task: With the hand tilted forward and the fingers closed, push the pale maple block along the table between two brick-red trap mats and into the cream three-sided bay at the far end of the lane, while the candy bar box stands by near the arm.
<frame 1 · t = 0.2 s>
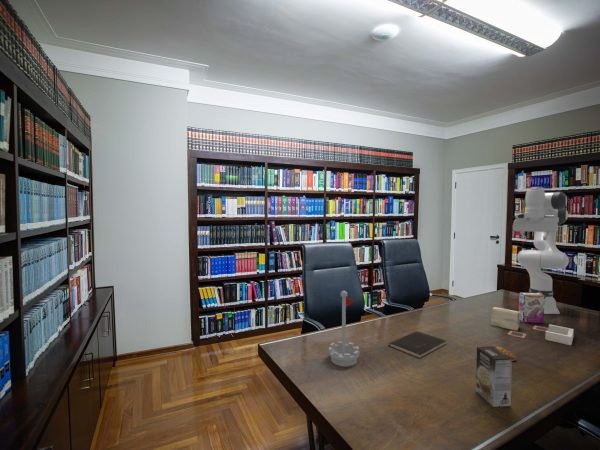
hand: (534, 239, 170), 48 cm above the table, tool pointing down, fingers open, 8 cm apart
flag stand: (343, 360, 129), on the table
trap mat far: (541, 329, 162), on the table
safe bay: (570, 340, 148), on the table
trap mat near: (516, 334, 155), on the table
pastry: (501, 356, 132), on the table
candy bar box: (531, 322, 174), on the table
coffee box: (492, 399, 101), on the table
hardcover book: (417, 346, 143), on the table
maple block: (505, 326, 167), on the table
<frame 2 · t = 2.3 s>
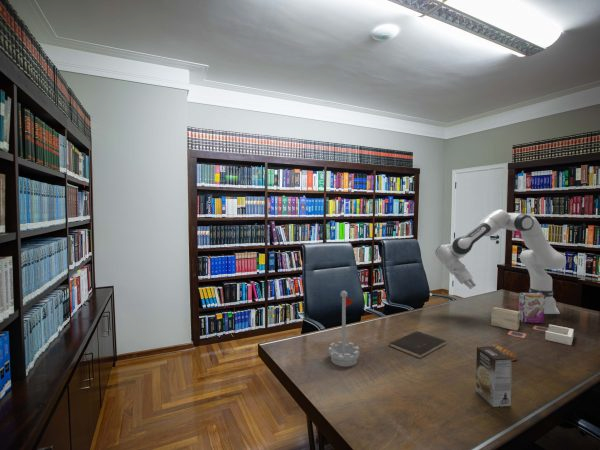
hand: (473, 287, 177), 19 cm above the table, tool tilted 45°, fingers open, 8 cm apart
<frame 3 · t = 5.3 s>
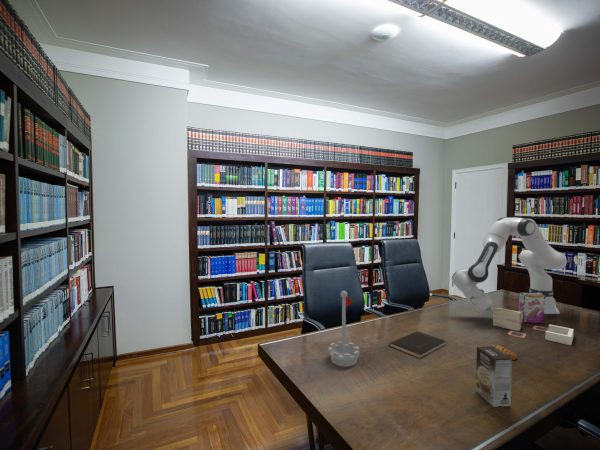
hand: (493, 315, 171), 5 cm above the table, tool tilted 45°, fingers closed
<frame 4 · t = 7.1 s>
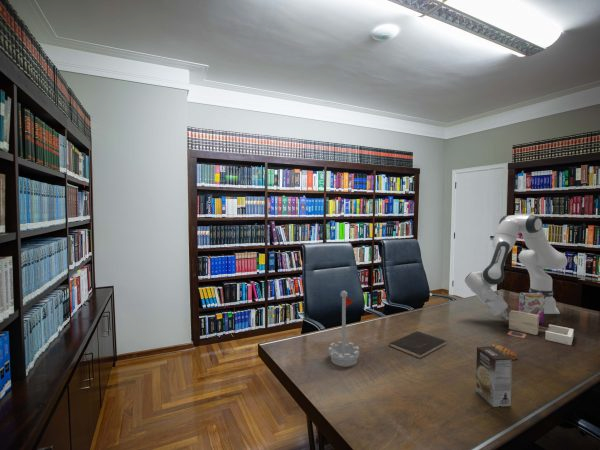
hand: (508, 318, 165), 5 cm above the table, tool tilted 45°, fingers closed, pressing on maple block
maple block: (523, 330, 161), on the table, touching gripper
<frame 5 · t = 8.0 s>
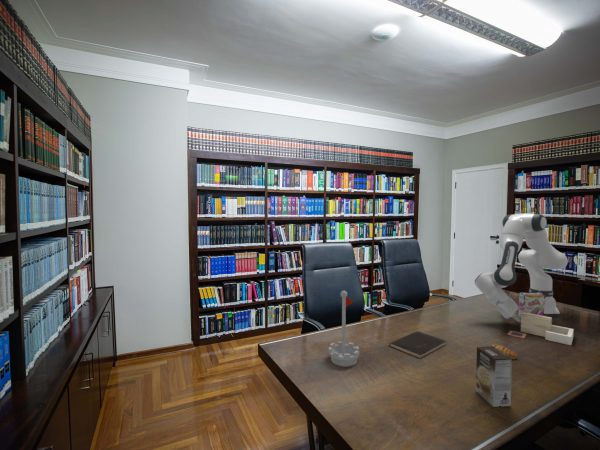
hand: (520, 321, 162), 5 cm above the table, tool tilted 45°, fingers closed, pressing on maple block
maple block: (535, 333, 157), on the table, touching gripper
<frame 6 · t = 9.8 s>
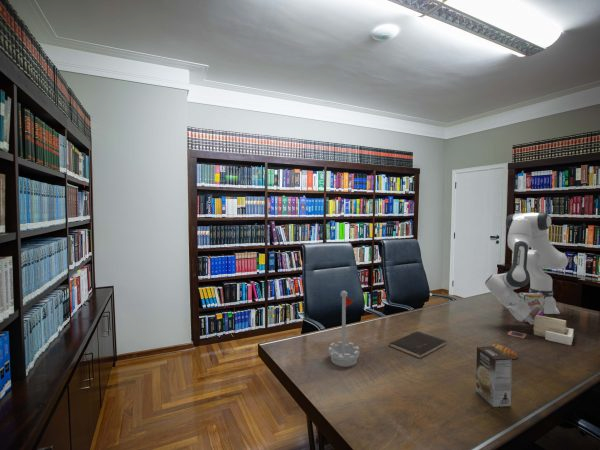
hand: (533, 323, 158), 5 cm above the table, tool tilted 45°, fingers closed, pressing on maple block
maple block: (549, 336, 153), on the table, touching gripper
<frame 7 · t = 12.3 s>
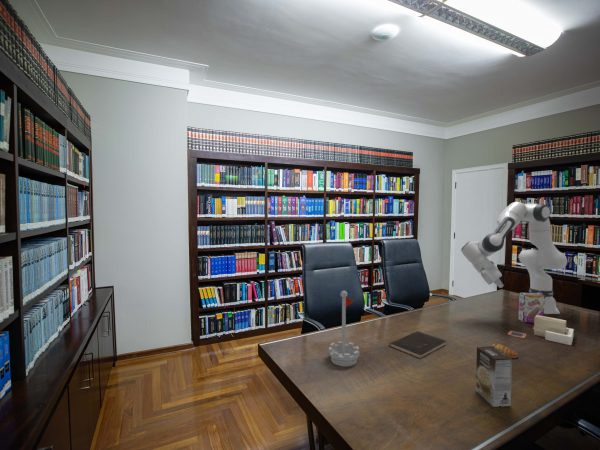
hand: (502, 287, 169), 21 cm above the table, tool tilted 40°, fingers closed
maple block: (549, 336, 153), on the table
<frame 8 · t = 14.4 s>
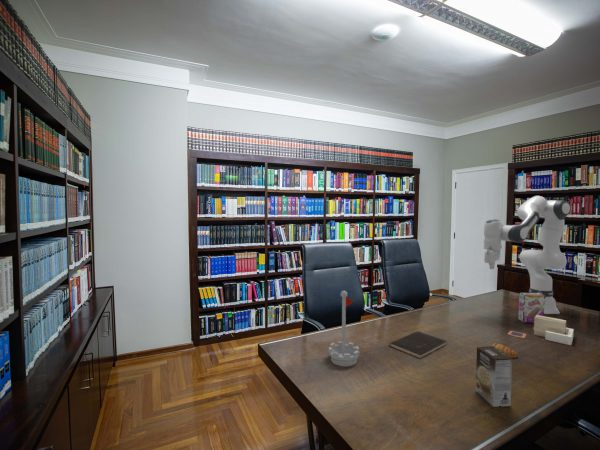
hand: (491, 268, 183), 29 cm above the table, tool pointing down, fingers closed
at the end: maple block inside the target area (1.5 cm from its centre), on the table; maple block tilted 0°; maple block moved 19.2 cm from its start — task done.
